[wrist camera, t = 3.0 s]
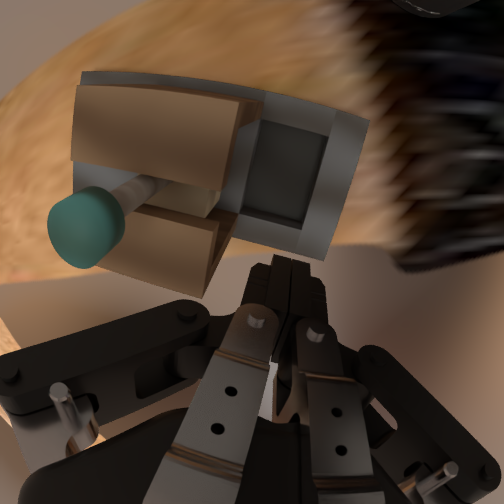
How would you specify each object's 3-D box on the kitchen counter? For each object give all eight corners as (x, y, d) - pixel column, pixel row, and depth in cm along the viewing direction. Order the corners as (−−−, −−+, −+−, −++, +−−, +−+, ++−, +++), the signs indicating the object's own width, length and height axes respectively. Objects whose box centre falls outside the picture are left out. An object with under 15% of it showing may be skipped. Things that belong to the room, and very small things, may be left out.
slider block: (169, 113, 25) (24, 148, 10) (234, 125, 25) (137, 167, 10) (159, 185, 29) (37, 281, 14) (219, 199, 29) (132, 319, 13)
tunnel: (95, 71, 26) (-3, 76, 14) (364, 118, 26) (417, 136, 13) (85, 189, 33) (2, 240, 21) (322, 249, 32) (331, 343, 20)
